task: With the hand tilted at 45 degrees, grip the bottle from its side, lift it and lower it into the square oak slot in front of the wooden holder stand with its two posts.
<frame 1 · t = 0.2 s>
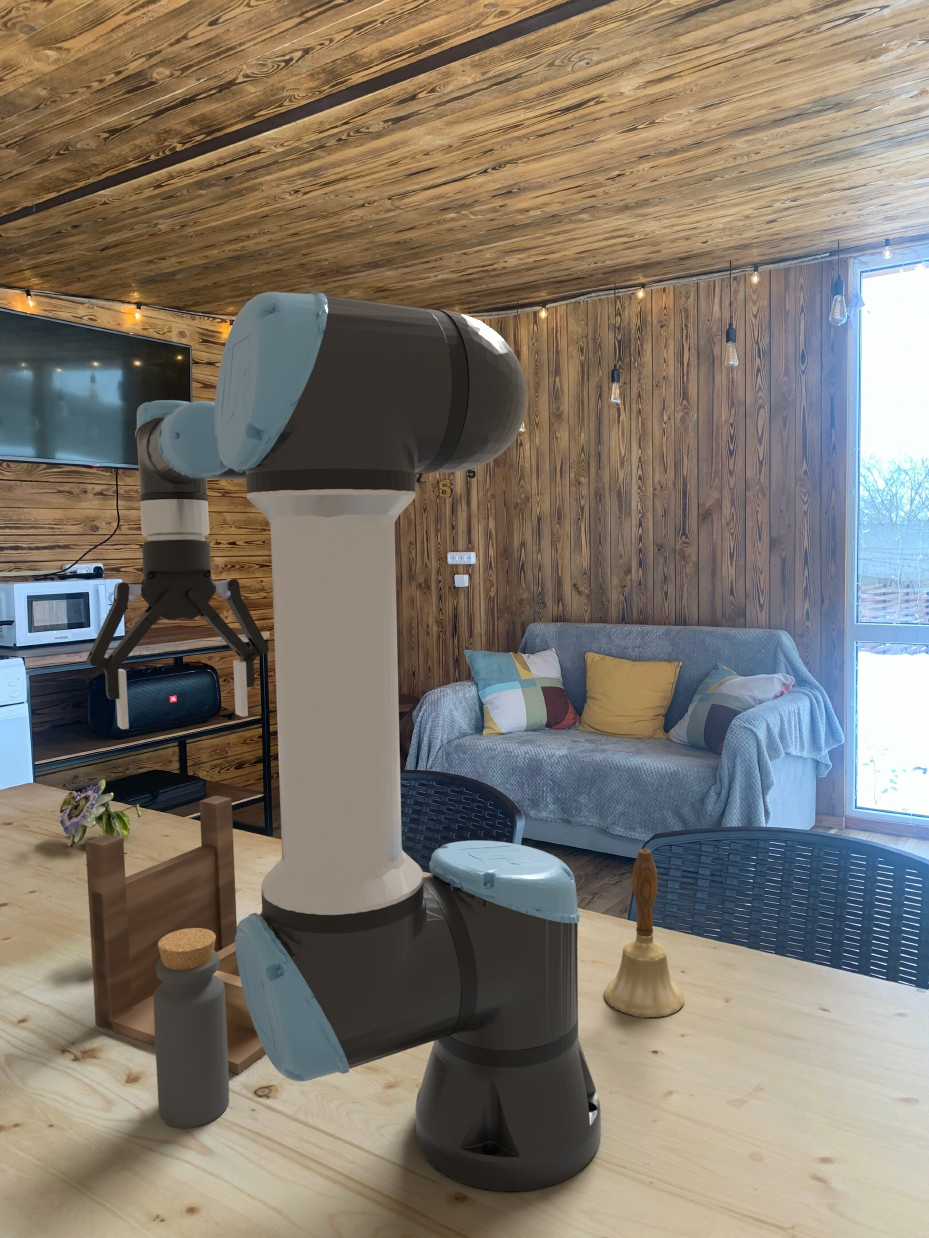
hand: (184, 721, 107), 28 cm above the table, tool pointing down, fingers open, 13 cm apart
passion flower: (98, 841, 151), on the table
hand bell: (644, 999, 96), on the table
bottle: (194, 1109, 79), on the table
wooden holder stand: (232, 1006, 96), on the table
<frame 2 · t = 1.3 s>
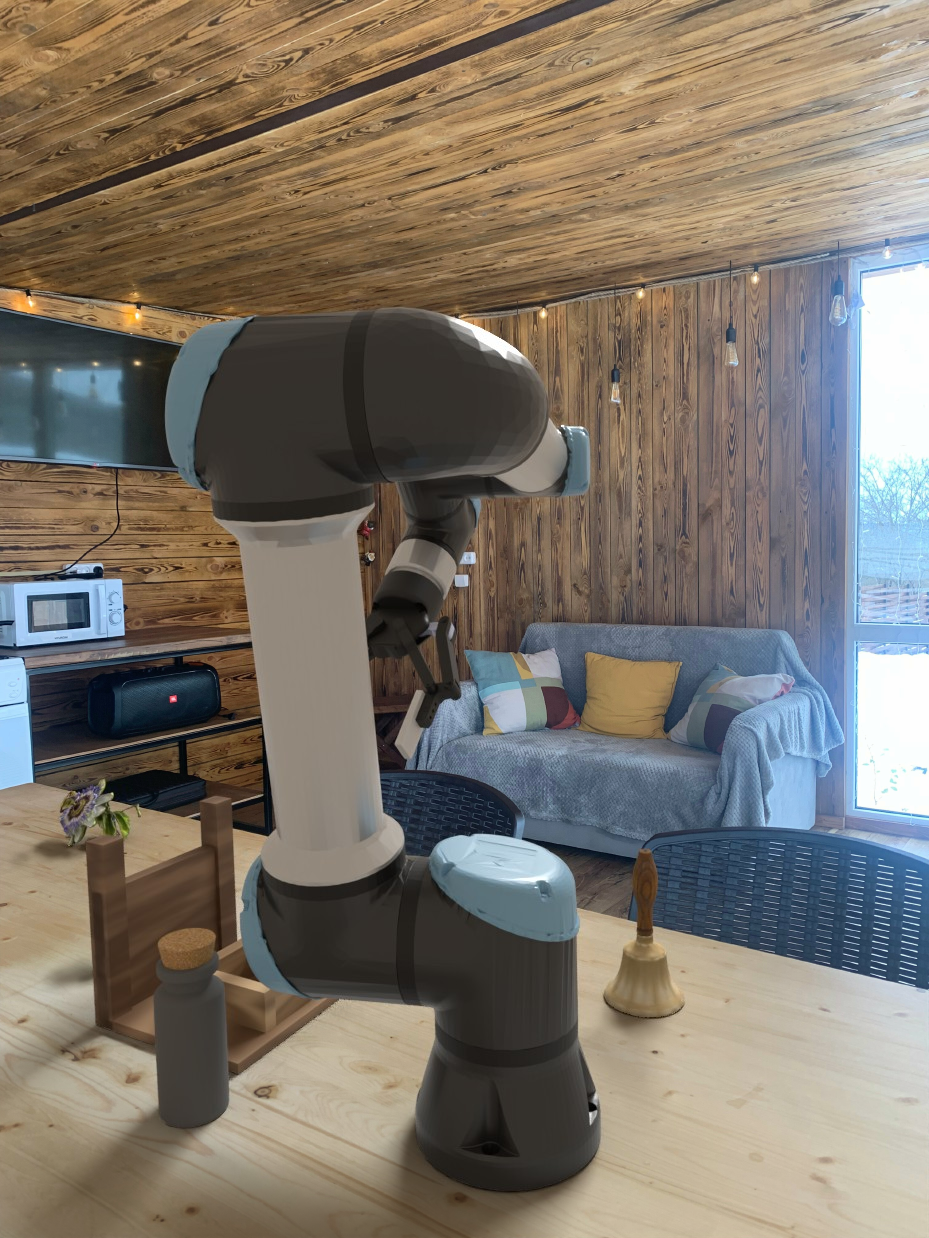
hand: (344, 746, 93), 28 cm above the table, tool tilted 45°, fingers open, 13 cm apart
nothing on the table moved.
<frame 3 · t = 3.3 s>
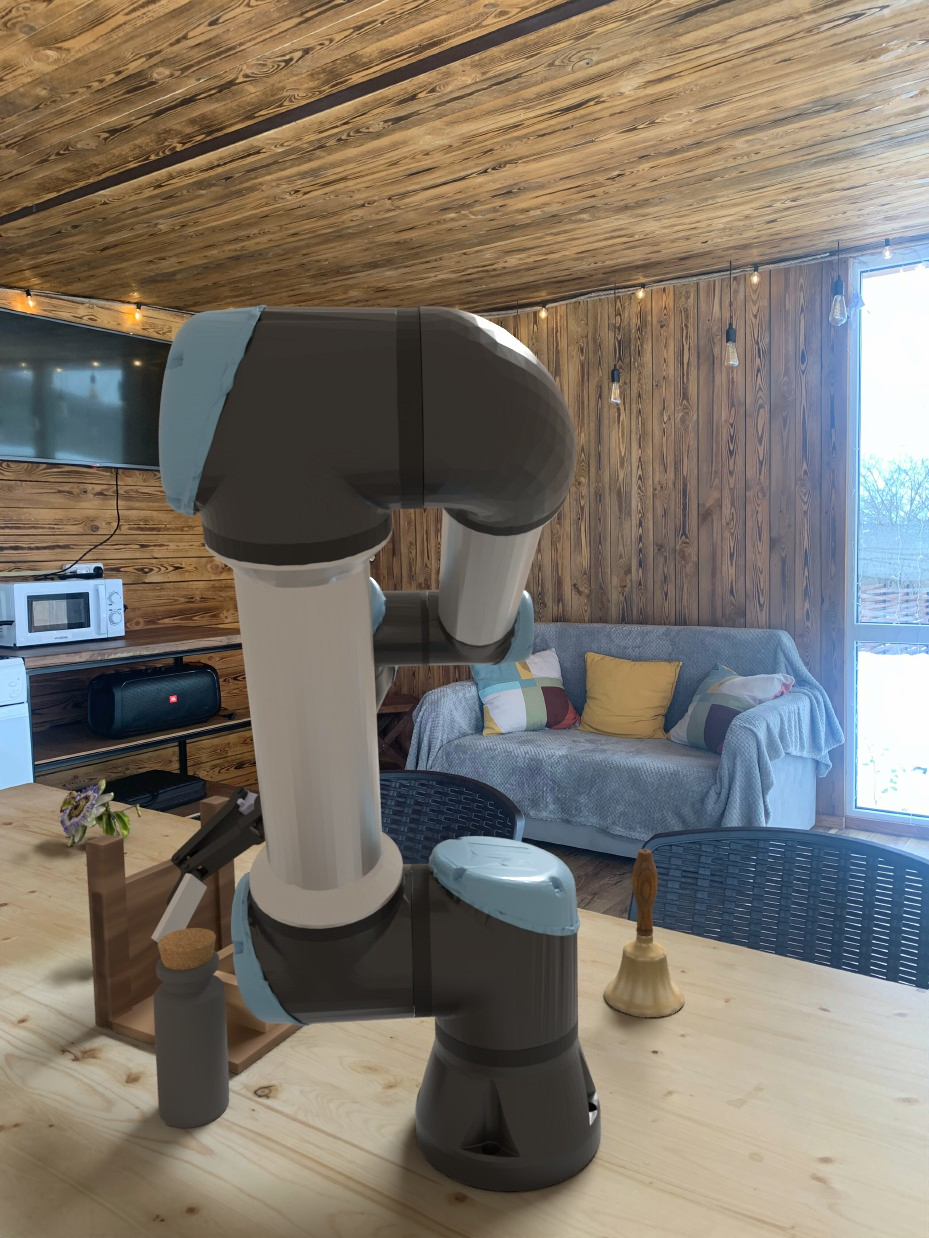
hand: (216, 960, 82), 11 cm above the table, tool tilted 45°, fingers open, 13 cm apart
nothing on the table moved.
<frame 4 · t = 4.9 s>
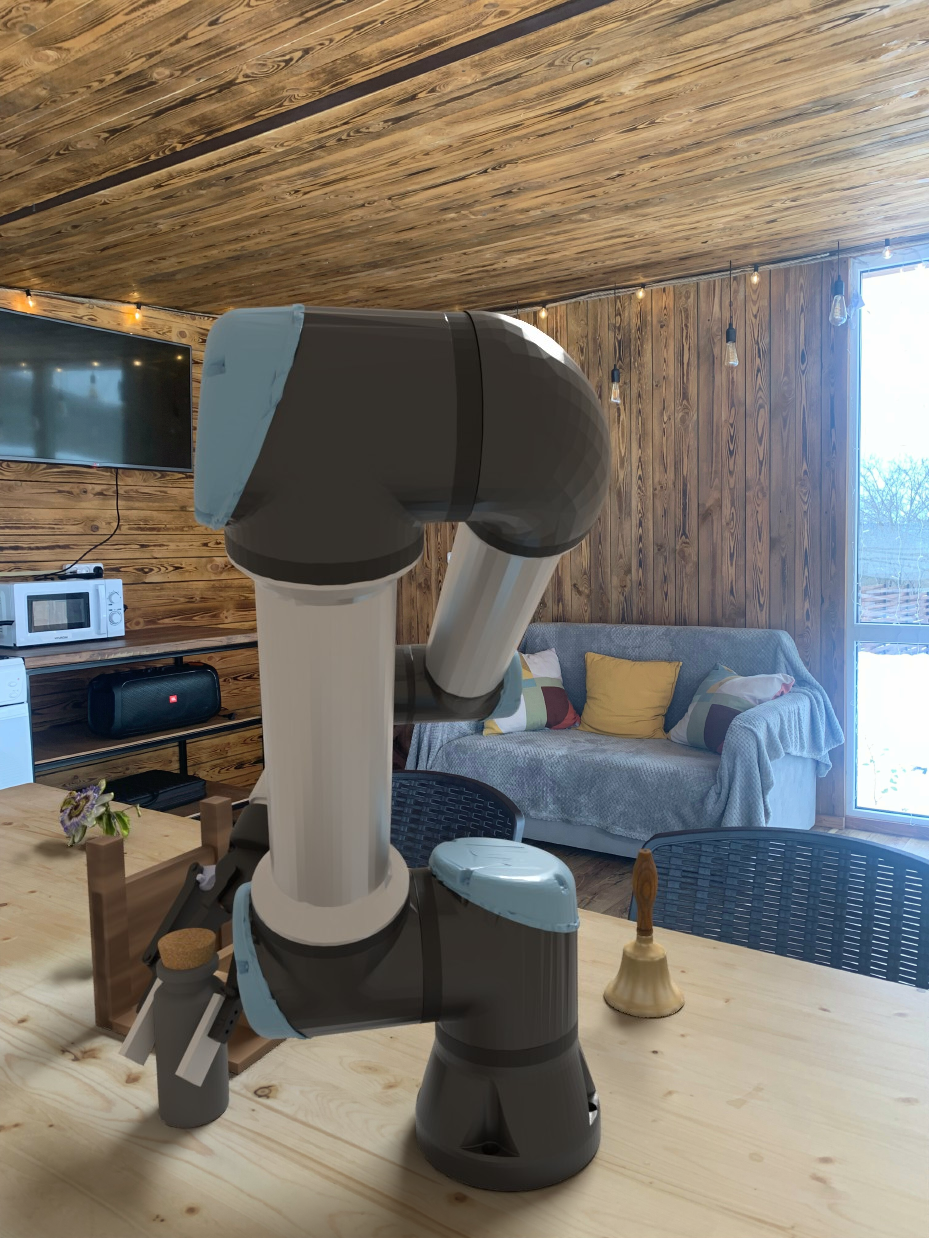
hand: (159, 1069, 75), 5 cm above the table, tool tilted 45°, fingers closed on bottle, 6 cm apart
bottle: (194, 1109, 79), on the table, touching gripper
everything else where it was.
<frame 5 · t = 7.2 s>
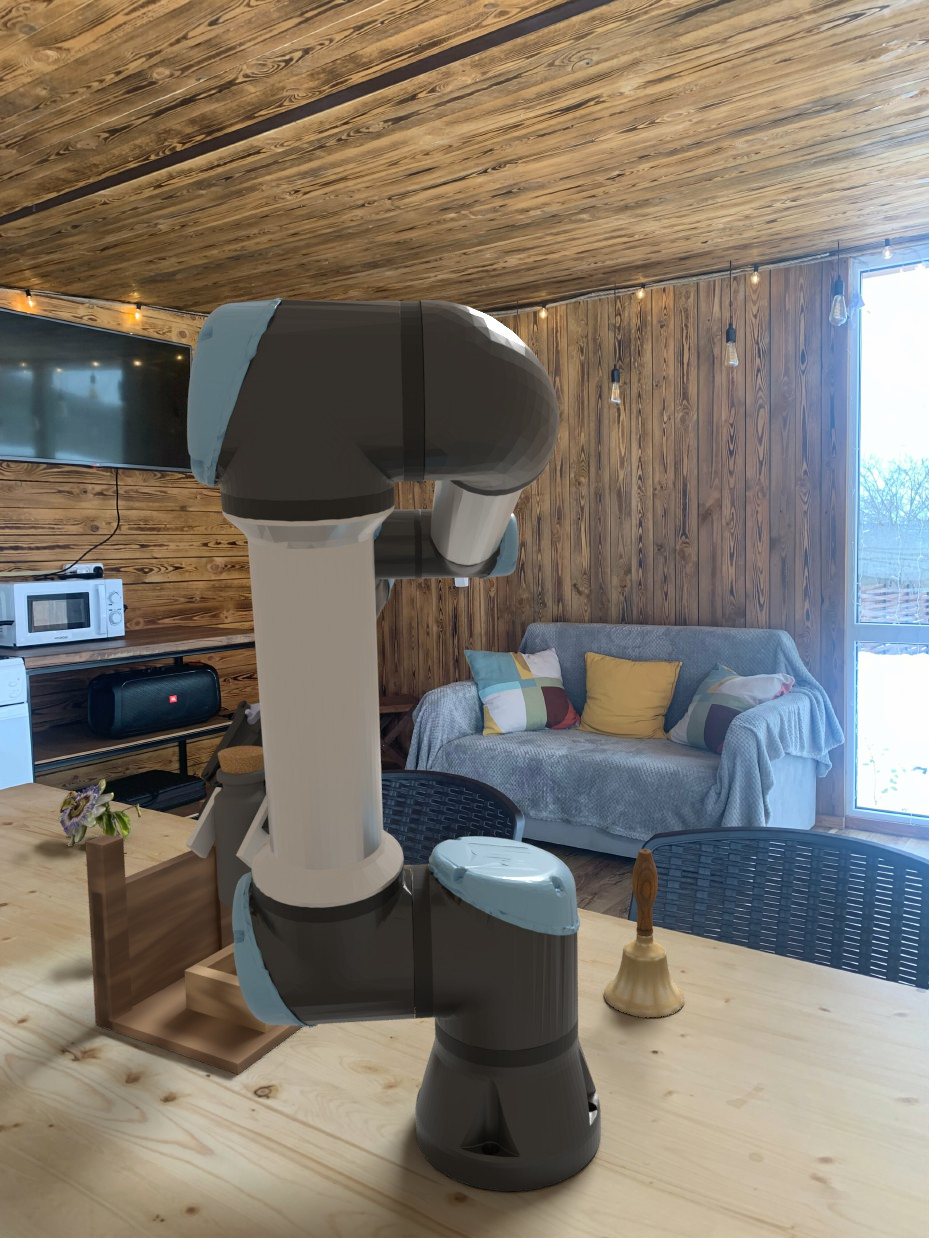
hand: (220, 856, 89), 18 cm above the table, tool tilted 45°, fingers closed on bottle, 6 cm apart
bottle: (248, 897, 93), point 12 cm above the table, touching gripper
everything else where it was.
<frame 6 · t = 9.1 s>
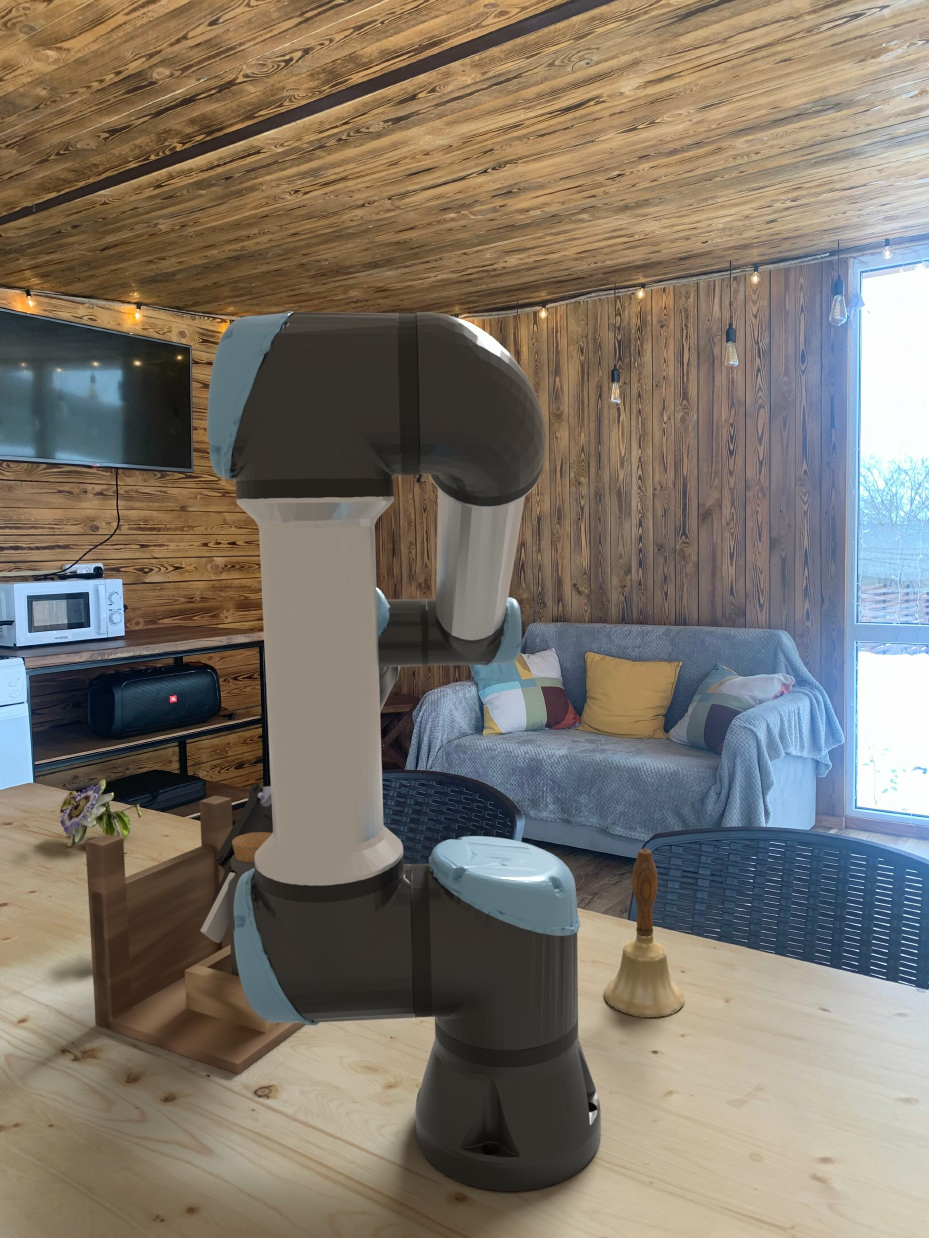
hand: (234, 942, 92), 8 cm above the table, tool tilted 45°, fingers closed on bottle, 6 cm apart
bottle: (260, 980, 96), point 3 cm above the table, touching gripper
everything else where it was.
when the fingers open (8 cm above the table, at t = 9.5 s): bottle drops 1 cm, resting on wooden holder stand.
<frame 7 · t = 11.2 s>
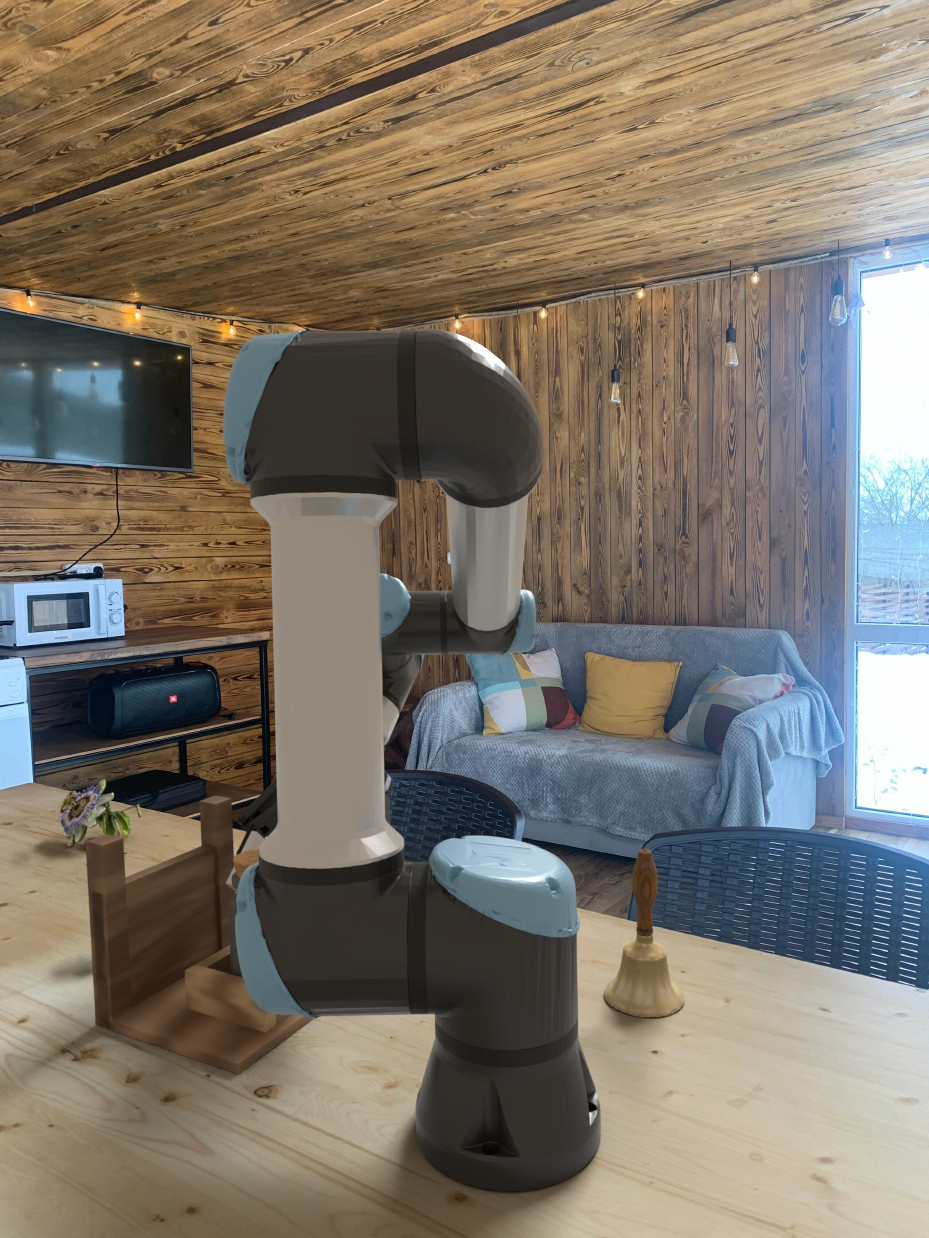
hand: (282, 900, 99), 10 cm above the table, tool tilted 45°, fingers open, 13 cm apart
bottle: (260, 997, 96), point 1 cm above the table, touching wooden holder stand
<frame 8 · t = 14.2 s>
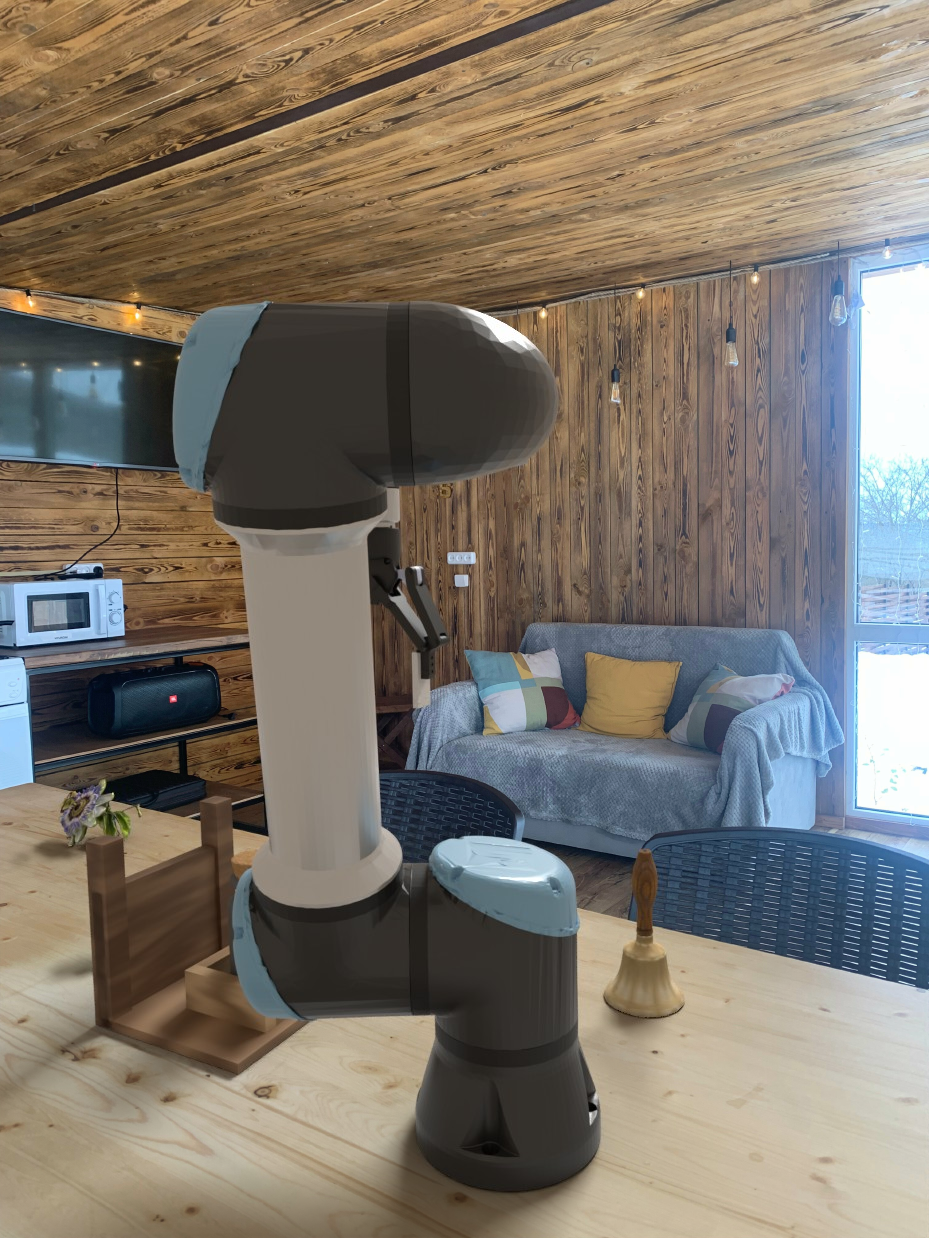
hand: (373, 702, 111), 29 cm above the table, tool pointing down, fingers open, 13 cm apart
at the end: bottle inside the target area (0.2 cm from its centre), point 0.8 cm above the table; bottle tilted 0°; the gripper is holding nothing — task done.
